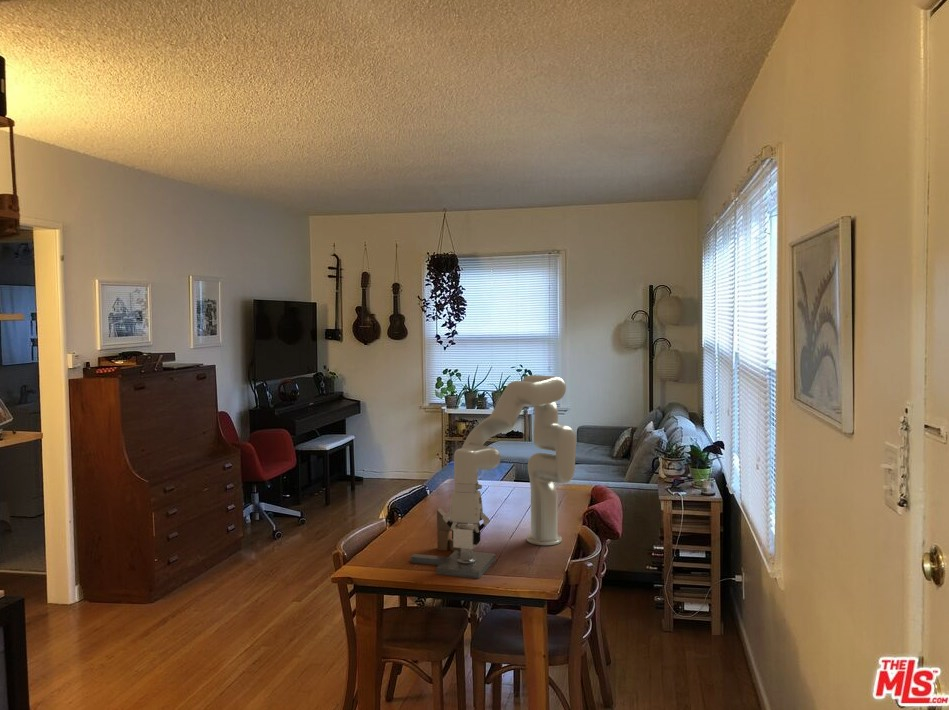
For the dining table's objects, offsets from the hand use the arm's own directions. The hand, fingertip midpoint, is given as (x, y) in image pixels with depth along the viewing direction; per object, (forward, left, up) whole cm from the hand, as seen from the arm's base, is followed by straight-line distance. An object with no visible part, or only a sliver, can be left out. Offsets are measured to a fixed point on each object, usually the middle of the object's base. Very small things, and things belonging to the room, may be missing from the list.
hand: (466, 542), depth 221 cm
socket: (0, 0, -1) cm, 1 cm away
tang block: (0, -6, -8) cm, 10 cm away
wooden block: (-15, -10, -8) cm, 20 cm away
